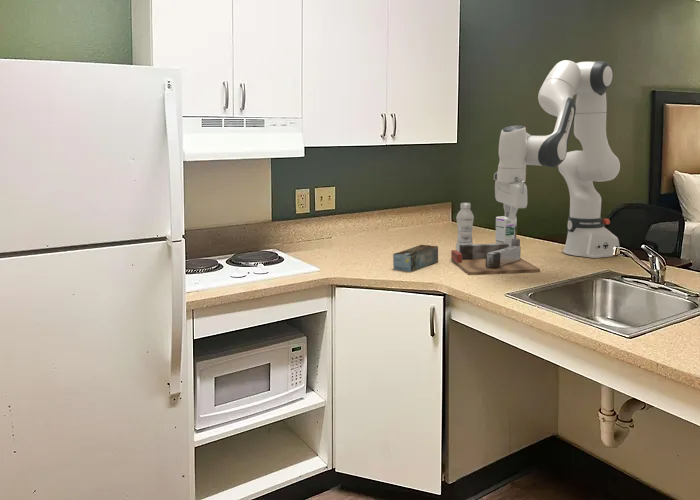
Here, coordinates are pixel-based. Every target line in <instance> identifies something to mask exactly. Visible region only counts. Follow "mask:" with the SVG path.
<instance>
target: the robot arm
mask: <svg viewBox="0 0 700 500" xmlns="http://www.w3.org/2000/svg"><path fill="white" fill-rule="evenodd" d="M613 79H614V71H613V68H612V66H611V65H610V63H609V62H607V61H602V60H597V61H579V62H574V61H572V60H567V59H565V60H564V59H563V60H561V61H559V62H557V63H556V64H555V65H554V66H553V68H552V69H551V70H550V71H549V73H548V75H546V78H545V79H544V81H543V83H542V85H541V86H540V89H539V91H538V96H537V100H538V103H539V106H540V107H541V108H542V109H543V111H544V112H546V113H547V114H548V115H551V116H554V117H557V118H556V122H555V126H554V129H553V132H552V133H551V134H547V135H531V134H530V133H528V132H527V129H526V126H524V125H510V126H509V125H508V126H505V127H503V128H502V129H501V131H500V135H499V141H498V142H499V143H498V157H499V163H498V165H497V171H496V172H495V173H494V174H493V180H494V181H495V182H494V197H495V200H496V201H497V202H498V203H501V204H503V211H504V216H505V217H506V218H509V219H511V220H515V219H516V217H517V213H518V210H519V209H527V206H528V187H527V184H526V176H527V165H528V166H541V167H548V168H556V167H557V169H558V172H559V173H560V174H561V175H562V177H563V178H564V180H565V183H566V184H567V189H568V192H569V216H568V219H567V235H566V241H565V244H564V248H563V251H562V252H563V253H564V254H566V255H570V256H576V257H585V258H591V259H598V258H608V257H614V256H613V247H614V246H618V247H619V248H620V241H619V238H618V236H616V235H615V234H614V233H612V232H611V231H610V230H609V229H607V227H605V225H610V224H611V221H610V219H609V218H603V217H601V211H602V197H601V194H600V193H599V192H598V191H597V190H596V188H595V186H594V182H598V183H599V182H601V183H602V182H610V181H612V180H614V179H615V178H616V177H617V176H618V175H619V173H620V169H621V163H620V160H619V157H617V155H615V153H614V152H613V150H612V148H611V147H610V144H609V141H608V137H607V114H608V113H607V109H608V107H607V106H608V105H607V93H606V92H607V91H608V89H609V88H610V87H611V85H612V83H613ZM575 95H576V98H575V99H573V98H574V96H575ZM573 125H574V126H573ZM572 128H573V135H574V137H575V139H577V140H579V143H580V144H581V147H582V150H572V151H568V144H569V139H570V135H571V132H572ZM619 256H620V257H621V256H624V255H623V254H620V255H618V256H617V257H619Z"/></svg>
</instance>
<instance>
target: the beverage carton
mask: <svg viewBox="0 0 700 500" xmlns="http://www.w3.org/2000/svg"><path fill="white" fill-rule="evenodd" d="M392 256H393V257H392V258H393V260H392V262H393V264H392V265H393V270H396V271H403V272H406V273H407V272H408V273H412V272H415V271H417V270H421V269H423V268H426V267H428V266H431V265H433V264H436V263H439V246H438V245H431V244H430V245H429V244H427V245H426V244H419V245H416V246H414V247H410V248H408V249H404V250H402V251H399V252H394V253H393V254H392Z"/></svg>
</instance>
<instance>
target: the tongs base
mask: <svg viewBox="0 0 700 500" xmlns="http://www.w3.org/2000/svg"><path fill="white" fill-rule="evenodd" d="M511 246H521V239H520V238H516V239H512V243H511ZM508 247H509V244H507V243H498V244H495V243H479V244H478V243H475V244H474V243H473V244H471V245H470V244H465V245H460V247H459V252H458V251H457V250H456V249H451V251H450V252H451V256H450V257H451V259H450V261H451V262H452V263H454V265H456V266H457V267H458V269H459V268H460V269H461V270H462V271H463V272H464V273H465V274H467V276H471V275H472V276H474V275H475V276H476V275H497V274H519V273H520V274H521V273H526V274H527V273H540V272H541V268H539V267H537V266H535V265H534V264H532V263H531V262H529V261H527V260H525V259H523V258H522V257H520V260H518V261H515V262H512V263H509V264H505V265H502V266H500V267H497V268H494V269H493V268H487V267H486V253H488V252H492V251H497V250H501V249H504V248H508Z"/></svg>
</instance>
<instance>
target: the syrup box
mask: <svg viewBox="0 0 700 500" xmlns="http://www.w3.org/2000/svg"><path fill="white" fill-rule="evenodd" d="M517 220H518V219H517V216H516V219H515V220H511V219H509V218H506V217H505V215H502V216H496V217H495V242H494V244H498V243H507V244H509V247H511V243H512V239H517V225H518V224H517V223H518V221H517Z"/></svg>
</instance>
